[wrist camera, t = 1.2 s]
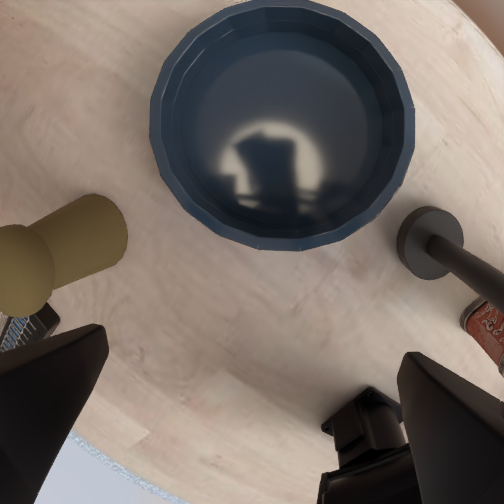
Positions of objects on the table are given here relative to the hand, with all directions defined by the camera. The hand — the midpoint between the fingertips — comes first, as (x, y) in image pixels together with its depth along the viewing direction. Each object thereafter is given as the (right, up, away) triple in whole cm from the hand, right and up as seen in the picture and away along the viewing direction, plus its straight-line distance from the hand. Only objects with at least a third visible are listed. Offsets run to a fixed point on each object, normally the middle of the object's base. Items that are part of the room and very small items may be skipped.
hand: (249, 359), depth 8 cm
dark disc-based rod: (+13, +4, +12) cm, 18 cm away
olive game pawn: (-12, +5, +14) cm, 19 cm away
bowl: (+2, +11, +11) cm, 16 cm away
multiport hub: (-25, -6, +19) cm, 32 cm away
